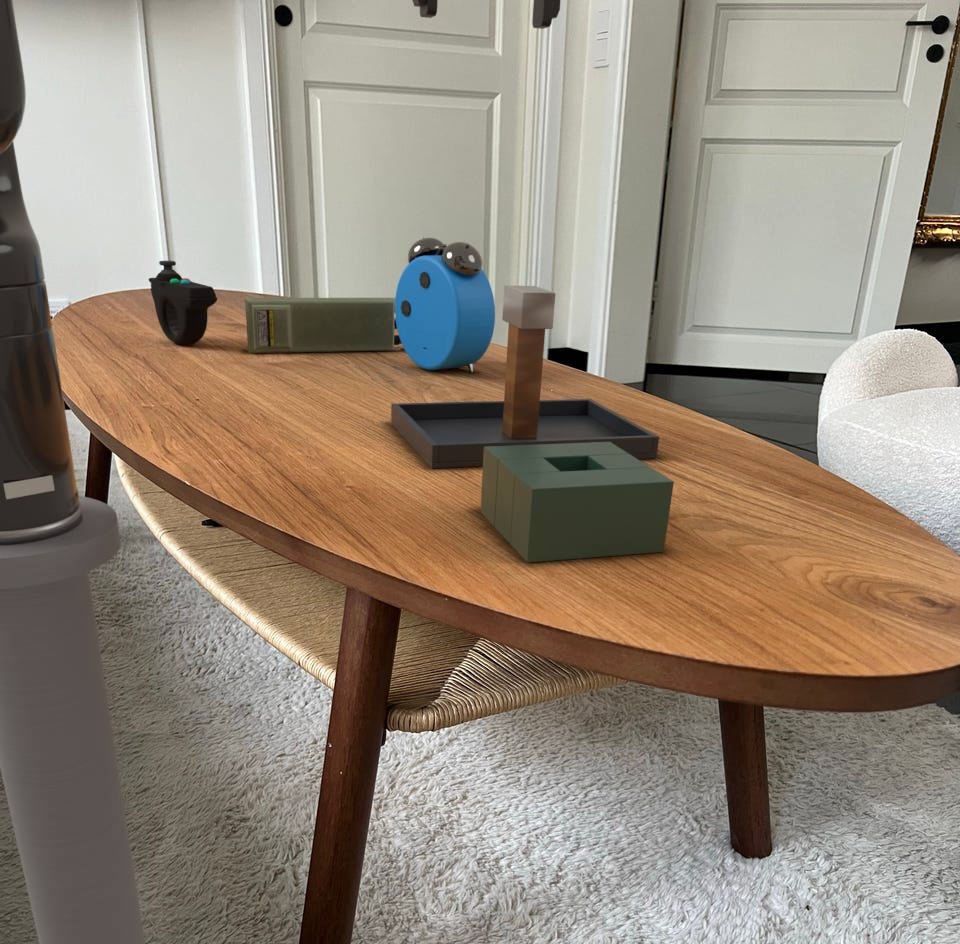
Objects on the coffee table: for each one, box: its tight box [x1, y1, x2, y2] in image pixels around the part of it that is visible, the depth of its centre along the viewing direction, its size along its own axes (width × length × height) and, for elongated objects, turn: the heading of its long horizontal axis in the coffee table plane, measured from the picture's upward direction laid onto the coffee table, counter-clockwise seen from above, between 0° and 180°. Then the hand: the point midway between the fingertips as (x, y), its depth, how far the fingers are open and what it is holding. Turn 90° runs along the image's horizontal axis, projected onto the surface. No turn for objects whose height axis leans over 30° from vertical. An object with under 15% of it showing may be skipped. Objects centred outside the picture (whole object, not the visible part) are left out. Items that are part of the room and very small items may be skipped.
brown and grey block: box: [501, 284, 556, 439], centre depth 85 cm, size 3×5×13 cm, turn 18°
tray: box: [390, 398, 660, 469], centre depth 88 cm, size 21×15×2 cm
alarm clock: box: [394, 236, 496, 373], centre depth 114 cm, size 13×6×15 cm, turn 40°
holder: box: [480, 442, 675, 563], centre depth 65 cm, size 10×10×5 cm
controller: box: [148, 260, 218, 345], centre depth 121 cm, size 4×12×10 cm, turn 43°
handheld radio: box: [244, 297, 402, 354], centre depth 124 cm, size 7×3×25 cm
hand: (485, 22), depth 67 cm, fingers open, 8 cm apart
